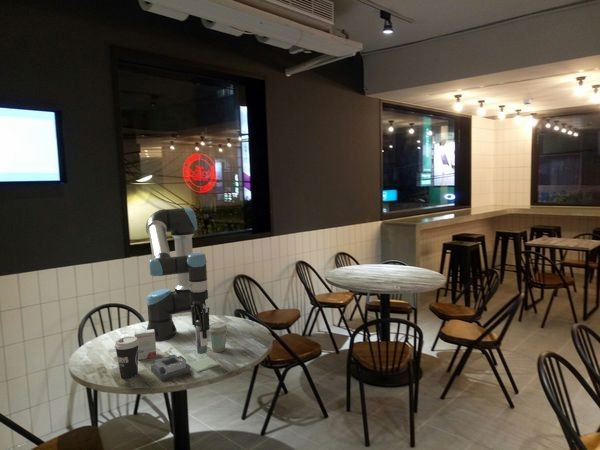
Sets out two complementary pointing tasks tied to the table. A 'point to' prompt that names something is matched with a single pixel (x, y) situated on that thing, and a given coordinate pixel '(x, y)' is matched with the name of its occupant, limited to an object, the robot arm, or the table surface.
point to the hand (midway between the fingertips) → (201, 343)
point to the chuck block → (170, 367)
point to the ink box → (146, 344)
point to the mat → (202, 364)
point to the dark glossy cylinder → (199, 348)
